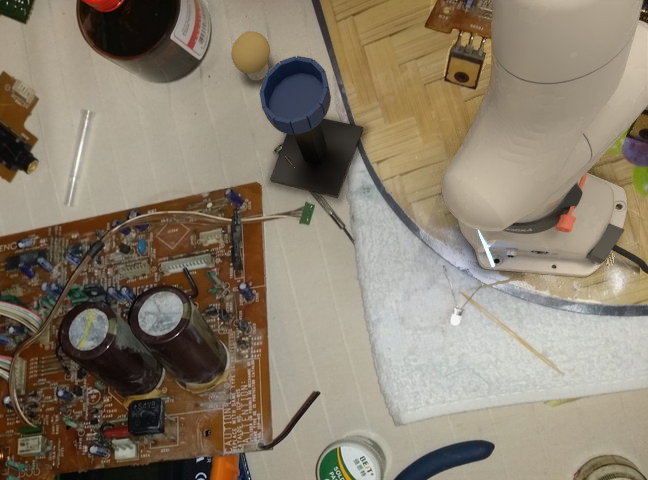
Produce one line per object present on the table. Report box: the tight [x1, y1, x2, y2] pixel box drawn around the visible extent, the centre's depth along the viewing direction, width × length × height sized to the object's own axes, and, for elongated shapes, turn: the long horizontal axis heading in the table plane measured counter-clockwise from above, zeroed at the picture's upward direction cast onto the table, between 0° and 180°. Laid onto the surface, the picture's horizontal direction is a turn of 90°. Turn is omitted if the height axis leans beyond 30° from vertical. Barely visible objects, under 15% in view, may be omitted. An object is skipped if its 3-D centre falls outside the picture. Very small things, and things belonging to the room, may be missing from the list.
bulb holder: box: [259, 55, 332, 135], centre depth 97 cm, size 9×9×4 cm
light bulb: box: [230, 30, 271, 81], centre depth 119 cm, size 6×6×10 cm
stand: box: [269, 118, 364, 199], centre depth 109 cm, size 12×12×22 cm
